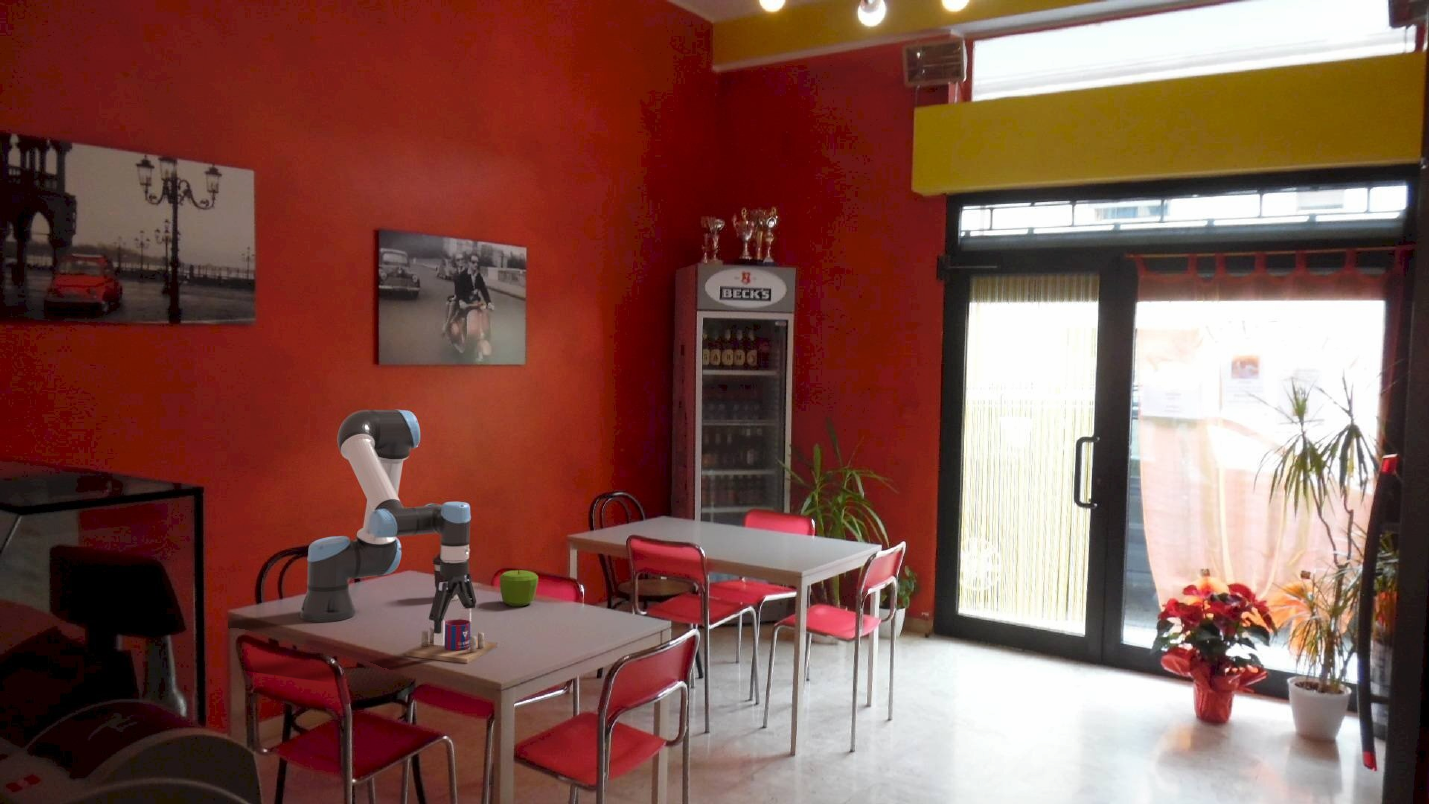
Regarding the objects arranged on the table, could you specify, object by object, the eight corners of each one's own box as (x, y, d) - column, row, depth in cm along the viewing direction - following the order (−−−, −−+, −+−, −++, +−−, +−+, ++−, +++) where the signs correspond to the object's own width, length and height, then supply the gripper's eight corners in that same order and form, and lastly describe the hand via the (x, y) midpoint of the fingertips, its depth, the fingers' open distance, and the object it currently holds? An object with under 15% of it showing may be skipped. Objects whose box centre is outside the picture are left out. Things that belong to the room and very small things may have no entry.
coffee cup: (469, 598, 323) (470, 553, 322) (446, 604, 314) (447, 557, 314) (448, 593, 328) (449, 549, 327) (425, 599, 320) (426, 553, 319)
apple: (543, 606, 316) (544, 571, 315) (507, 610, 309) (508, 574, 309) (527, 598, 326) (528, 564, 326) (493, 601, 319) (493, 567, 319)
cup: (454, 652, 258) (455, 627, 258) (432, 644, 265) (432, 619, 264) (475, 647, 263) (475, 622, 263) (452, 640, 270) (453, 615, 270)
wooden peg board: (406, 655, 258) (406, 636, 258) (438, 640, 274) (439, 621, 273) (467, 663, 253) (467, 643, 253) (496, 647, 269) (497, 628, 268)
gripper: (442, 570, 250) (440, 652, 250) (490, 553, 274) (488, 628, 274) (416, 567, 252) (414, 649, 252) (466, 550, 276) (464, 625, 276)
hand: (452, 638), depth 263 cm, fingers open, 13 cm apart
